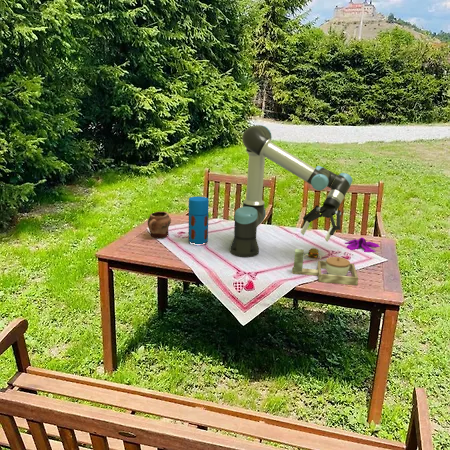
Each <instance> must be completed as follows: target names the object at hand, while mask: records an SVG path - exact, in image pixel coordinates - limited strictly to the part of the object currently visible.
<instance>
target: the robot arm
mask: <svg viewBox="0 0 450 450" xmlns="http://www.w3.org/2000/svg"><path fill="white" fill-rule="evenodd" d="M245 129H246V130H244V132H243V134H242V136H241V138H242V139H241V140H242V144H243V146H244V147H245V148H246V153H247V154H248V161H247V162H248V166H247V180H246V181H247V182H246V197H245V199H244V200H243V201H242V206H241V207H238V208H237V209H235V211H234V212H235V213H234V227H233V228H234V232H233V234H234V235H233V236H234V237H233V239H232V242H231V245H230V249H229V252H230V254H232V255H233V256H236V257H240V258H241V257H242V258H251V257H256V256H257V255H259V252H260V247H259V244H258V240H257V230H258V229H257V228H258V226H260V225H261V223H263V221H264V220H265V218H266V214H267V212H266V209H265V201H264V200H263V192H264V191H263V190H264V177H265V165H266V162H265V161H266V159H268V160H269V161H272V162H273V163H275V164H277V165H278V166H279V167H281V168H283V169H284V170H286V171H288V172H290V173H292V174H293V175H295V176H296V177H298V178H300V179H301V180H303V181H305V182H306V183H308V184H310V185H311V187H312V189H314V191H323V190H325V189H326V188H329V189H330V191H329V192H328V194H327V196H326V198H325V200H324V201H323V202H322V206H319V205H315V206H314V207H313V209H312V210H311V211H309V212H308V213H307V214H305V215H304V216H303V217H302V220H303V221H304V223H303V224H302V228H301V230H300V234H302V235H303V236H304V235H305V233H306V231H307V230H308V228H309V226H310V223H311V222H313V221H315V220H317V219H319V218H327V219H330V223H331V225H332V226H330V228H329V229H328V230H327V233H326V235H325V236H324V240H325V241H326V242H329V241H330V238H331V237H332V236H333V235H334V234H335V232H336V231H337V230H338V231H340V230H341V229H342V228H341V220H342V219H341V217H342V215H343V214H342V212H341V210H340V209H339V208H340V205H341V204H342V202H343V201H344V199H345V197H346V195H347V193H348V191H349V190H350V188H351V185H352V183H353V178H352V176H351V175H350V174H349V173H347V172H346V173H345V172H341V173H339V174H337V173H334V172H333V171H331V170H328V169H327V168H325V167H323V166H321V165H317V166H316V167H314V166H312V165H310V164H309V163H307V162H305V161H304V160H302V159H300V158H299V157H297V156H296V155H294V154H292V153H290V152H289V151H287V150H285V149H284V148H282V147H280V146H278V145H277V144H276V143H273V142H272V141H271V140H272V138H273V137H272V132H271V130H270V129H269V128H268V127H267V126H265V125H263V124H262V125H261V124H256V125H254V126H250V127H247V128H245ZM338 209H339V210H338ZM335 215H336V222H335V220H334V216H335Z"/></svg>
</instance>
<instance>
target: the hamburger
mask: <svg viewBox="0 0 450 450" xmlns="http://www.w3.org/2000/svg"><path fill="white" fill-rule="evenodd" d="M306 256H307V257H308V258H307V257H306ZM318 256H319V257H318ZM303 258H306V259H307V260H311V261H313V260H317V261H320V260H321V259H322V256H321V254H320V255H319V250H318V248H314V247H311V248H310V249H309V250H308V252H307V253H306V254H305V253H304V256H303ZM318 258H319V259H318Z"/></svg>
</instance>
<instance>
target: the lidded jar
mask: <svg viewBox="0 0 450 450" xmlns="http://www.w3.org/2000/svg"><path fill="white" fill-rule="evenodd" d="M325 261H326V269H325V270H326V272H327V273H326V274H328V275H339V276H347V274H348V273H349V271H348V270H349V265H350V263H351V262H350V260H349V259H347V258H344V257H340V256H331V257H328V258H326V260H325Z"/></svg>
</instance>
